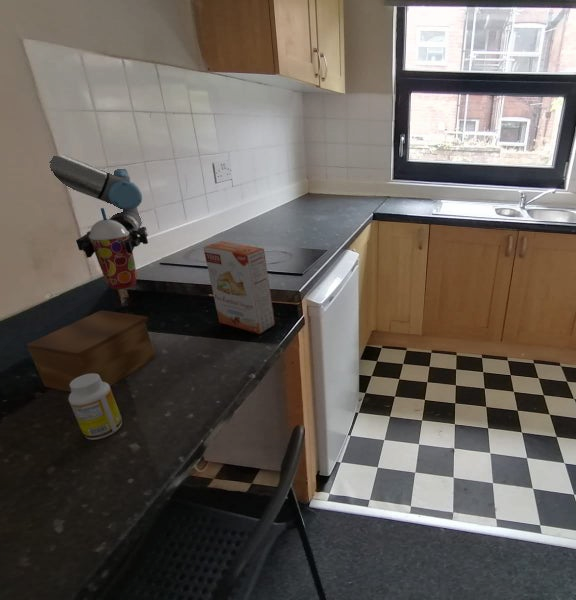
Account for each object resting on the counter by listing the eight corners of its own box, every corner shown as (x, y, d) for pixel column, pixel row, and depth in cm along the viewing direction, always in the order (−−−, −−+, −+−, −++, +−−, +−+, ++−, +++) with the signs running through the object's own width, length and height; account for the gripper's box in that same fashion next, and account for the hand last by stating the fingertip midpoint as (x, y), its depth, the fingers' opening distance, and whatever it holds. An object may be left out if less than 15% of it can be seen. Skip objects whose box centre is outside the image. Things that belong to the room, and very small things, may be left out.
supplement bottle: (110, 415, 72) (92, 367, 68) (130, 424, 70) (113, 374, 66) (76, 435, 67) (54, 385, 63) (97, 445, 65) (76, 394, 61)
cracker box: (217, 324, 104) (201, 246, 95) (235, 315, 109) (221, 239, 100) (259, 335, 98) (245, 253, 90) (276, 325, 103) (264, 246, 95)
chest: (110, 349, 92) (98, 315, 89) (155, 357, 90) (145, 321, 86) (44, 386, 80) (27, 348, 76) (95, 396, 77) (80, 357, 73)
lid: (102, 313, 90) (101, 310, 89) (148, 320, 87) (147, 316, 86) (27, 348, 76) (26, 344, 76) (80, 357, 73) (78, 353, 73)
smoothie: (115, 280, 108) (93, 205, 100) (147, 279, 109) (129, 205, 101) (97, 291, 101) (72, 211, 93) (132, 291, 101) (111, 211, 93)
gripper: (165, 237, 121) (160, 259, 102) (82, 245, 113) (60, 270, 94) (159, 212, 118) (153, 230, 99) (73, 219, 110) (49, 239, 91)
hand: (108, 249), depth 96 cm, fingers closed on smoothie, 8 cm apart
